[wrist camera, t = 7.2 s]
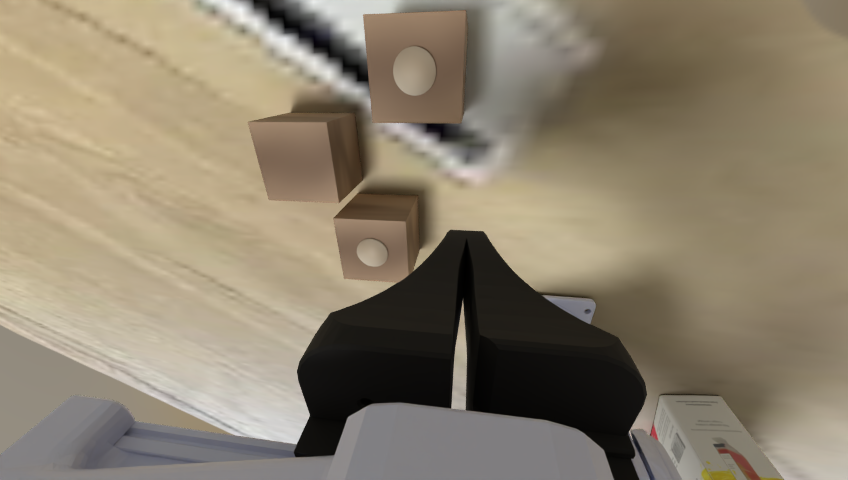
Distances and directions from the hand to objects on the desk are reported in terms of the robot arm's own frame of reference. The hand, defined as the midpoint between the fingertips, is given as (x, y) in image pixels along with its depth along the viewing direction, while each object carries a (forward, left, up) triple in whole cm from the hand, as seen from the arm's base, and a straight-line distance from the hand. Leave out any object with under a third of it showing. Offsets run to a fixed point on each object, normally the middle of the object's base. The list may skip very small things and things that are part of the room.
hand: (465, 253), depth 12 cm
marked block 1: (+6, +3, -11) cm, 13 cm away
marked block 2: (-4, +6, -11) cm, 13 cm away
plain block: (+2, +10, -11) cm, 14 cm away
